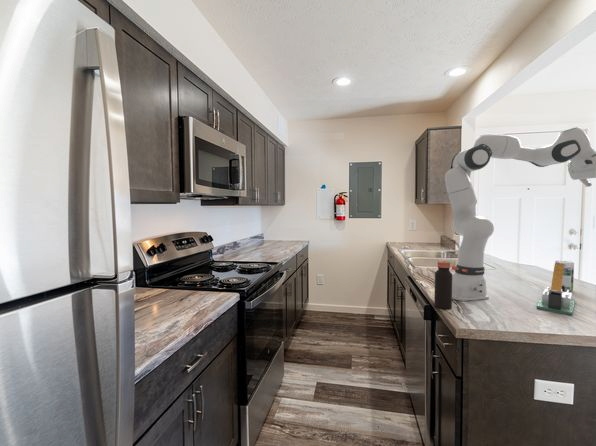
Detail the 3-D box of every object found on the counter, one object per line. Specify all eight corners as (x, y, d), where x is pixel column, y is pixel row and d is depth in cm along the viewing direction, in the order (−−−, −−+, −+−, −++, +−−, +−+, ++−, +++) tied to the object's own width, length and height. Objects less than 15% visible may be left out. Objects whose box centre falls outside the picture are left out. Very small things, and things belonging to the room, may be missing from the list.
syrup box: (559, 289, 148) (560, 262, 147) (553, 286, 154) (555, 259, 153) (573, 290, 146) (574, 262, 145) (567, 287, 152) (568, 260, 151)
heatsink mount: (572, 315, 115) (573, 298, 114) (536, 308, 123) (537, 292, 122) (575, 301, 131) (575, 286, 130) (543, 296, 138) (544, 281, 138)
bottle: (444, 310, 121) (445, 264, 120) (430, 305, 128) (431, 261, 126) (455, 308, 124) (456, 262, 123) (441, 303, 130) (442, 259, 129)
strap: (561, 295, 119) (561, 293, 118) (549, 293, 122) (549, 291, 121) (565, 265, 128) (565, 263, 128) (553, 264, 131) (553, 262, 131)
